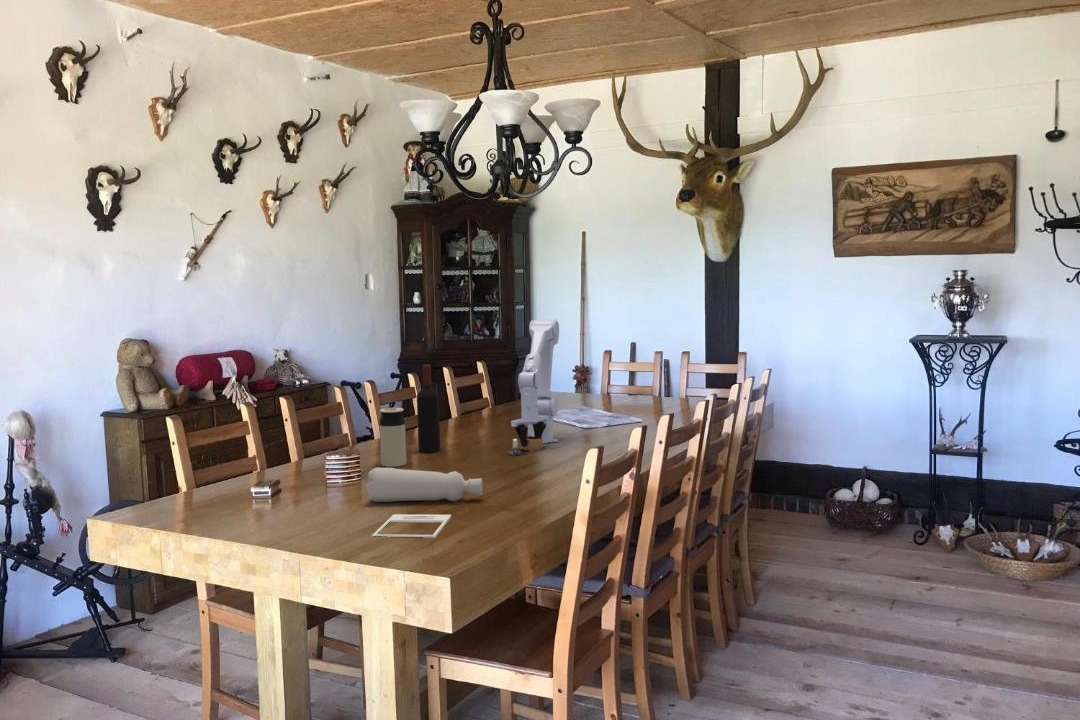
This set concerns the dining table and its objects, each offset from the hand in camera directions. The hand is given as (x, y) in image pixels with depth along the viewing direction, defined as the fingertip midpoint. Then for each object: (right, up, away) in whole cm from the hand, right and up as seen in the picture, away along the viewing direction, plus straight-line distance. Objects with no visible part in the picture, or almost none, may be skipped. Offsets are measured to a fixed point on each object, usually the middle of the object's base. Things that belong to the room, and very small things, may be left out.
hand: (530, 445), depth 302 cm
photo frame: (-27, -11, -94) cm, 98 cm away
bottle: (-27, -8, -69) cm, 75 cm away
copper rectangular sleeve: (0, -1, 0) cm, 1 cm away
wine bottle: (-35, -2, +1) cm, 35 cm away
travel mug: (-44, -5, -21) cm, 49 cm away
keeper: (-5, -2, -8) cm, 10 cm away
